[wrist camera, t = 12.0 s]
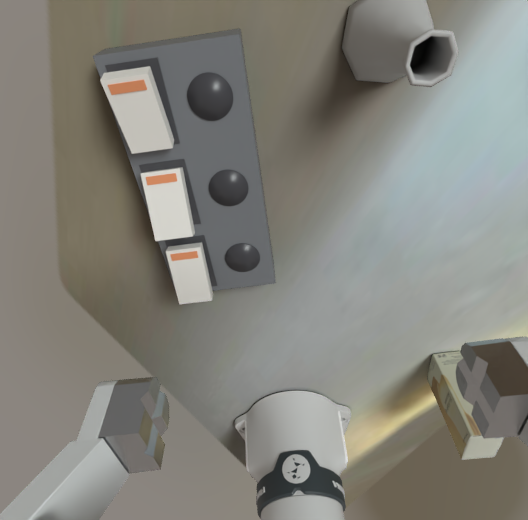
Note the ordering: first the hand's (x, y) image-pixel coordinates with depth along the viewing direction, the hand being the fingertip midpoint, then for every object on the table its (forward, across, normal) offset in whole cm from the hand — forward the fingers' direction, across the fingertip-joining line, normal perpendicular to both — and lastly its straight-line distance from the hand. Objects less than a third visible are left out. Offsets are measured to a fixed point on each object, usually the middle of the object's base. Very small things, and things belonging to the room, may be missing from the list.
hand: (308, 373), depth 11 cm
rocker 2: (+24, +10, +15) cm, 30 cm away
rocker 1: (+24, +10, -1) cm, 26 cm away
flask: (+29, -10, -3) cm, 31 cm away
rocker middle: (+24, +10, +7) cm, 27 cm away
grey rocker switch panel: (+29, +7, +7) cm, 31 cm away
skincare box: (+29, -21, +41) cm, 55 cm away
